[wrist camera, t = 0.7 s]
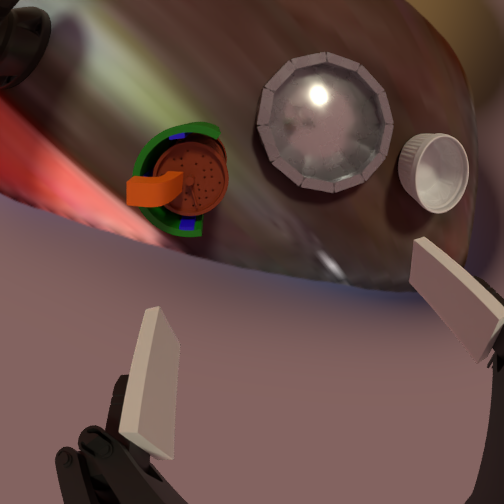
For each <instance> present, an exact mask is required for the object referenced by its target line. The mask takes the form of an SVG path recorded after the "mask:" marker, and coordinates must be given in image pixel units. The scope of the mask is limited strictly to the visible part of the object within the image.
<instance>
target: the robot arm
mask: <svg viewBox="0 0 504 504" xmlns="http://www.w3.org/2000/svg"><path fill="white" fill-rule="evenodd" d="M18 1H19V0H0V89H3V88H11V87H14V86H16V85H17V84H19V83H20V82H22V81H23V80H24V79H25V78H26V77H27V76H28V75H29V74H30V73H31V72H32V71H33V69H34V68H35V67H36V65H37V64H38V62H39V61H40V59H41V57H42V55H43V53H44V51H45V49H46V46H47V44H48V41H49V37H50V32H51V21H50V17H49V15H48V14H47V13H46V12H45V11H44V10H42V9H39V8H37V7H22V8H14V9H12V8H13V7H14V6H15V5H16V4H17V3H18ZM409 283H410V284H411V285H412V286H413V287H414V288H415V289H416V290H417V291H418V292H419V294H420V295H421V296H422V297H423V298H424V299H425V300H426V301H427V303H428V304H430V306H431V307H432V308H433V309H434V311H435V312H436V313H437V314H438V315H439V317H440V318H441V319H442V320H443V321H444V323H445V324H446V325H447V326H448V327H449V329H450V330H451V331H452V332H453V334H454V335H455V336H456V337H457V339H458V340H459V341H460V342H461V344H462V345H463V346H464V348H465V349H466V350H467V352H468V353H469V354H470V356H471V357H472V358H473V360H474V361H475V362H476V364H478V363H479V362H480V361H482V360H483V359H485V358H486V357H487V356H488V354H489V353H490V351H491V349H492V348H493V349H494V351H495V353H494V354H493V356H492V358H491V360H490V361H489V363H488V366H487V368H489V367H490V365H491V364H492V362H493V366H492V368H493V381H492V397H491V409H490V417H489V424H488V431H487V437H486V442H485V448H484V452H483V457H482V461H481V465H480V470H479V474H478V477H477V481H476V484H475V487H474V490H473V493H472V495H471V496H470V497H469V499H468V500H467V501H466V502H465V504H504V299H503V298H502V297H501V296H500V295H499V294H498V293H496V291H495V290H494V289H493V288H491V287H490V285H488V284H487V283H486V282H485V281H484V280H483V279H481V278H479V277H477V276H473V277H472V276H471V275H470V274H469V273H468V272H466V270H464V269H463V268H462V267H461V266H460V265H459V264H457V263H456V262H455V261H454V260H453V259H452V258H450V257H449V256H448V255H447V254H446V253H444V252H443V251H442V250H441V249H439V248H438V247H437V246H436V245H434V244H433V243H432V242H431V241H429V240H428V239H427V238H425V237H422V238H418V239H415V240H414V243H413V254H412V264H411V272H410V280H409ZM179 354H180V342H179V341H178V339H177V337H176V335H175V334H174V332H173V330H172V328H171V326H170V325H169V323H168V321H167V319H166V317H165V315H164V313H163V312H162V310H161V308H160V306H158V307H153V308H149V309H146V310H145V314H144V318H143V321H142V325H141V329H140V332H139V336H138V340H137V344H136V348H135V353H134V357H133V361H132V365H131V370H130V374H129V375H121V376H120V377H119V379H118V381H117V382H116V384H115V386H114V391H113V397H112V399H111V405H110V408H109V413H108V419H107V423H106V428H105V430H103V429H102V428H101V427H99V426H96V425H95V426H89V427H87V428H85V429H84V430H83V431H82V432H81V434H80V436H79V440H78V446H79V449H80V450H81V451H76V450H75V449H73V448H71V447H63V448H62V449H60V450H59V451H58V453H57V454H56V458H55V464H56V470H57V474H58V480H59V485H60V489H61V493H62V497H63V501H64V504H188V503H187V502H186V501H185V500H184V499H183V498H182V497H181V496H180V495H179V494H178V493H177V492H176V491H175V490H174V489H173V487H172V486H171V485H170V484H169V483H168V482H167V481H166V480H165V479H164V477H163V476H162V475H161V474H160V473H159V472H158V470H157V469H156V468H155V467H154V466H153V464H151V463H150V455H151V456H152V457H154V458H155V459H157V460H171V459H172V460H173V459H174V435H175V413H176V394H177V380H178V367H179V356H180V355H179Z"/></svg>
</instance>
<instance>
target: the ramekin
mask: <svg viewBox="0 0 504 504" xmlns="http://www.w3.org/2000/svg"><path fill="white" fill-rule="evenodd" d="M398 173H399V178H400V181H401V184H402V185H403V188H404V189H405V190H406V192H407V193H408V194H409V195H410V196H411V197H413V198H414V199H415V200H416V201H417V202H418V203H419V204H420V205H421V206H422V207H423V208H424V209H426V210H428V211H430V212H432V213H444V212H446V211H448V210H450V209H451V208H453V207H454V206H455V205H456V204H457V203H458V201H459V200H460V199H461V197H462V195H463V193H464V191H465V188H466V185H467V181H468V175H469V165H468V159H467V155H466V152H465V150H464V148H463V146H462V145H461V144H460V142H459V141H458V140H457V139H455V138H454V137H452V136H450V135H447V134H442V133H438V134H419V135H416V136H414V137H412V138H411V139H410V140H409V141H407V143H406V144H405V145H404V147H403V149H402V151H401V153H400V157H399V162H398Z"/></svg>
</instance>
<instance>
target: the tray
mask: <svg viewBox="0 0 504 504" xmlns="http://www.w3.org/2000/svg"><path fill="white" fill-rule="evenodd" d="M359 64H360V63H357V62H355V61H352V60H349V59H346V58H343V57H341V56H338V55H335V54H332V53H328V52H326V53H325V52H322V53H317V54H312V55H307V56H303V57H298V58H294V59H291V60H289V61H288V62H286V63H285V64H284V65H283V66H282V67H281V68H280V69H279V70H278V71H277V72H276V73H275V74H274V75H273V76H272V77H271V79H270V80H269V81H268V82H267V83H266V84H265V85H264V86H263V89H262V90H261V96H260V98H259V102H258V106H257V115H256V124H257V126H256V129H257V131H258V135H259V138H260V141H261V144H262V146H263V148H264V150H265V152H266V155H267V158H268V160H269V161H270V162H271V163H272V164H273V165H274V166H275V167H276V168H278V169H279V170H280V171H281V172H283V173H284V174H285V175H286V176H287V177H289V178H290V179H291V180H292V181H293V182H294V183H296V184H297V185H298V186H300V187H303V188H308V189H314V190H320V191H325V192H330V193H333V192H335V193H336V192H339V191H342V190H344V189H347V188H350V187H353V186H355V185H358V184H361V183H364V180H365V181H367V179H368V178H369V177H370V176H371V175H372V174H373V172H374V171H375V170H376V169H377V168H378V167H379V165H380V164H381V163H382V162H383V161H384V160H385V158H386V157H385V156H387V153H388V149H389V145H390V140H391V136H392V131H393V126H394V125H391V124H393V119H392V115H391V111H390V107H389V103H388V100H387V96H386V93H385V92H383V91H384V89H383V88H382V87H381V86H380V84H379V83H378V82H377V81H376V80H375V79H374V78H373V76H372V75H371V74H370V73H369V72H368V71H367V70H366V69H365V68H364V67H363V66H362V65H359ZM384 155H385V156H384Z"/></svg>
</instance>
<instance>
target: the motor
mask: <svg viewBox="0 0 504 504" xmlns="http://www.w3.org/2000/svg"><path fill="white" fill-rule="evenodd" d="M220 134H221V132H220V130H219V127H217V126H216V125H213V124H210V123H206V122H193V123H188V124H184V125H180V126H176V127H172V128H169V129H167V130H165V131H163V132H161V133H159V134H158V135H156V136H155V137H154V138H152V139H151V140H150V141H149V142H148V143H147V144H146V145H145V147H144V148H143V149H142V151H141V152H140V154H139V156H138V158H137V160H136V163H135V166H134V170H133V175H132V178H131V179H130V180H129V181H127V205H130V206H138V207H139V209H140V210H141V212H142V213H143V215H144V216H145V217H146V218H147V219H148V220H149V221H150V222H151V223H152V224H153V225H154V226H156V227H157V228H159V229H160V230H162V231H164V232H167V233H169V234H172V235H176V236H181V237H197V236H202V228H203V217H204V213H206V212H208V211H210V210H212V209H213V208H214V207H216V206H217V205H218V204H219V203H220V201H221V200H222V199H223V197H224V195H225V193H226V191H227V187H228V180H229V177H228V170H227V166H226V162H227V156H226V151H225V148H224V146H223V144H222V142H221V141H220V140H219V138H218V137H219V135H220ZM173 139H178V140H177V141H176V142H175V143H174V145H173V146H172V147H171V148H169V147H170V144H171V142H172V141H173Z"/></svg>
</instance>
